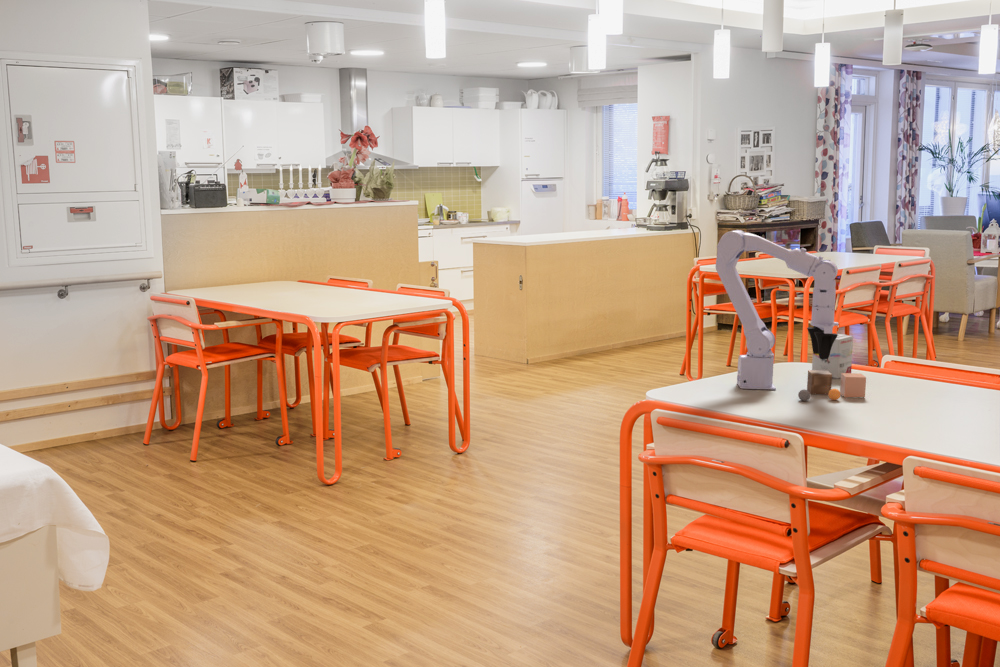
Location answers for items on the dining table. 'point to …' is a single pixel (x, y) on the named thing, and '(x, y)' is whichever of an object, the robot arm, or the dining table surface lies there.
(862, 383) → the salmon pink block
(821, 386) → the brown block
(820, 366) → the ink box
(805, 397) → the ball left
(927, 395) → the dining table surface
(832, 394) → the orange ball
